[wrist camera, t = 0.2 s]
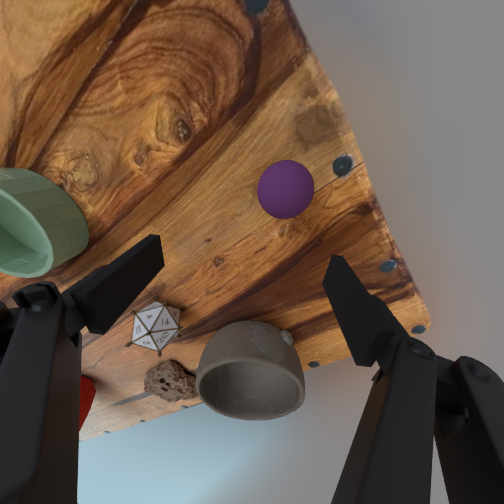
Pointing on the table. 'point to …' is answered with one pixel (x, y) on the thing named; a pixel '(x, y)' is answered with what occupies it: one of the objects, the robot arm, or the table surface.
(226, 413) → the bowl
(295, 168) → the plum ball
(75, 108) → the table surface
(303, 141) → the table surface
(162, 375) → the rock
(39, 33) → the table surface
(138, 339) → the game die
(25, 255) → the green bowl
